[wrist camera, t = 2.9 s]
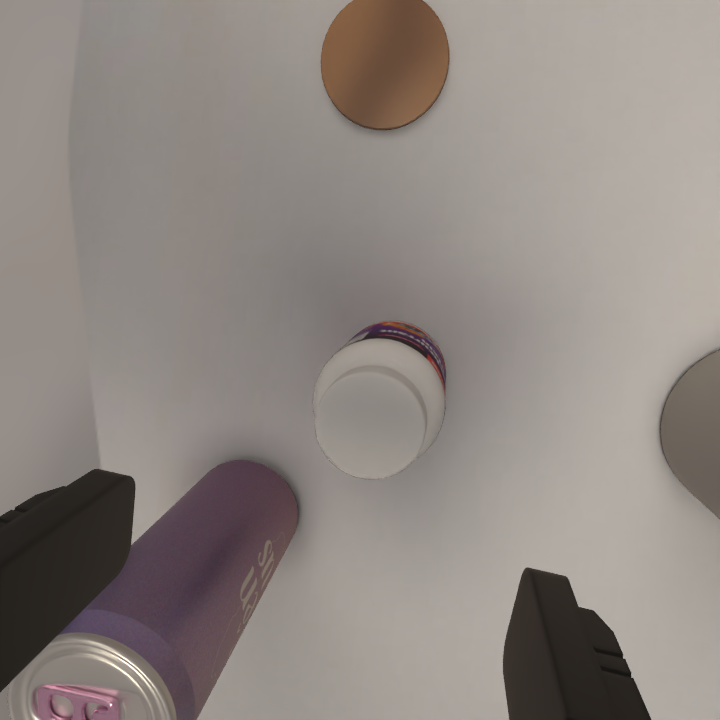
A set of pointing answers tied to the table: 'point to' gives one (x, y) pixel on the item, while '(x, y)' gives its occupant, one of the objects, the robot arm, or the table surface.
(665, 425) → the mug
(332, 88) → the cork coaster
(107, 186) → the table surface
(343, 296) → the table surface
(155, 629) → the beverage can
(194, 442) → the table surface
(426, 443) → the pill bottle
